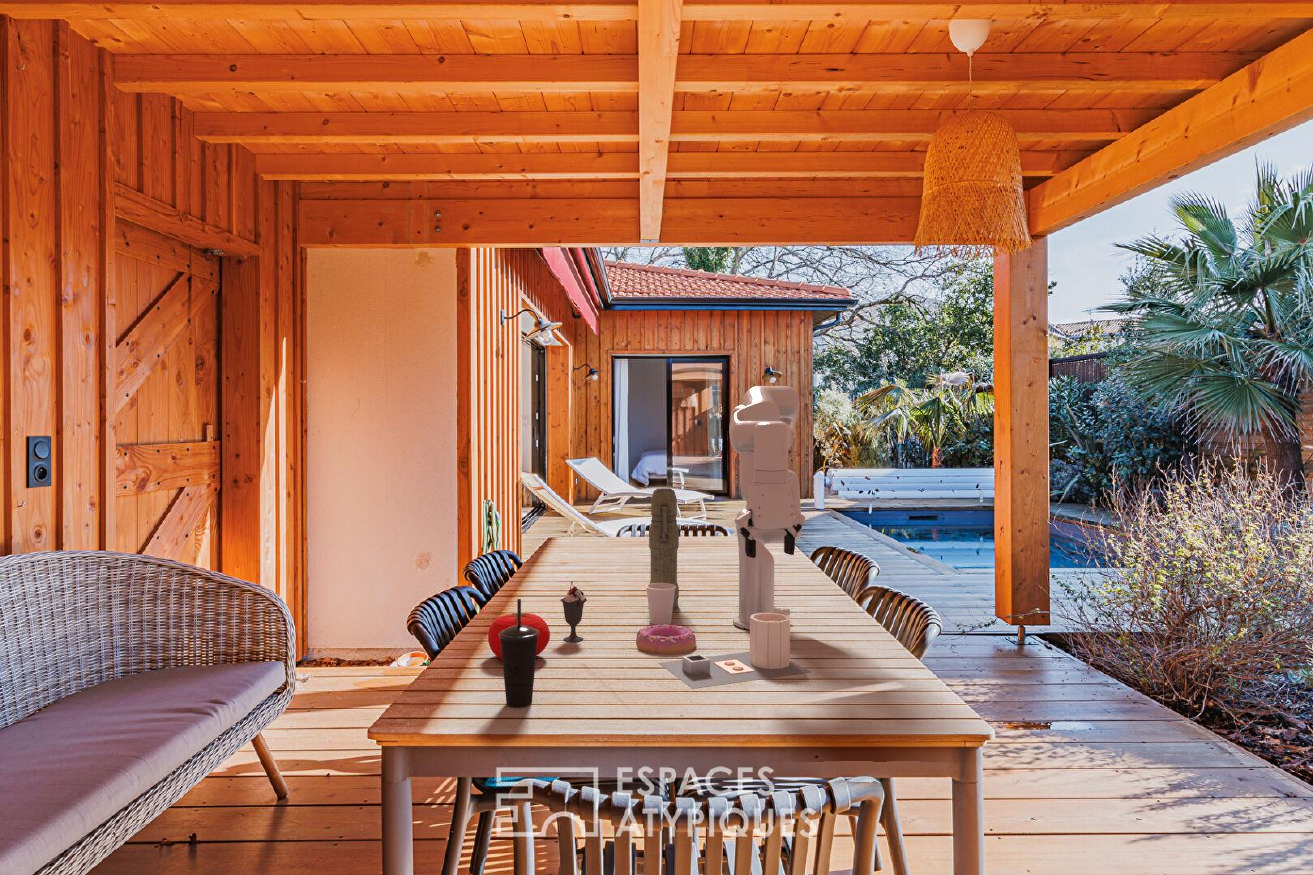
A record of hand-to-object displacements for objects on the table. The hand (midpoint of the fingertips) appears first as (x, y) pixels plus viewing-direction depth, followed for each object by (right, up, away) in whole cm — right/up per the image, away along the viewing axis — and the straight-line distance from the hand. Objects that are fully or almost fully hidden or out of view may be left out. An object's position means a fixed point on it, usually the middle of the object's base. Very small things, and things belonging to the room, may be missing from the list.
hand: (770, 555), depth 169 cm
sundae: (-46, -25, +22) cm, 57 cm away
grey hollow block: (-17, -24, -7) cm, 30 cm away
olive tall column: (-23, -24, +59) cm, 67 cm away
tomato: (-57, -25, +7) cm, 63 cm away
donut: (-23, -25, +13) cm, 36 cm away
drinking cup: (-52, -25, -22) cm, 62 cm away
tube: (0, -24, 0) cm, 24 cm away
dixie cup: (-24, -25, +40) cm, 53 cm away
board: (-8, -25, -4) cm, 27 cm away
